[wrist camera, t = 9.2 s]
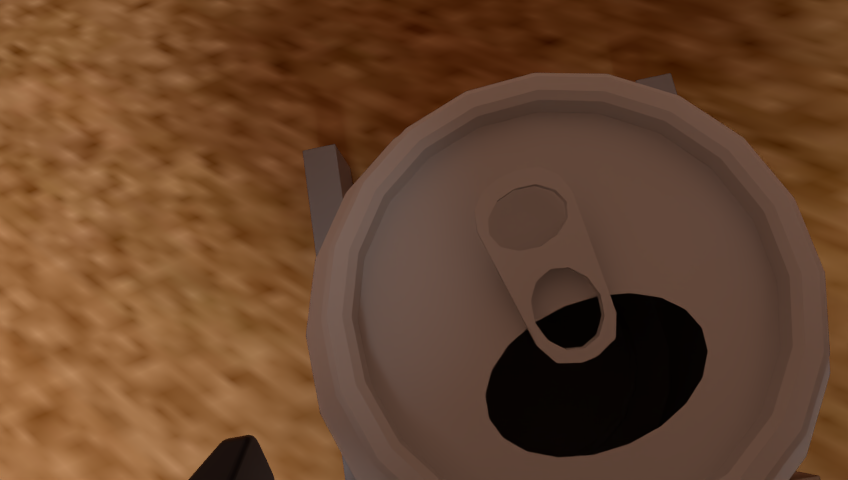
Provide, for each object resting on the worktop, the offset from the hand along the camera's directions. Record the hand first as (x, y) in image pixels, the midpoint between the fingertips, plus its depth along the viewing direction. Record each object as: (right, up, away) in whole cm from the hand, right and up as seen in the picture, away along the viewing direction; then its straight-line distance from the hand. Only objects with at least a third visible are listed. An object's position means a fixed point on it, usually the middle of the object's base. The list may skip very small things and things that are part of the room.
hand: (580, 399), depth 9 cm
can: (+1, -2, +11) cm, 11 cm away
